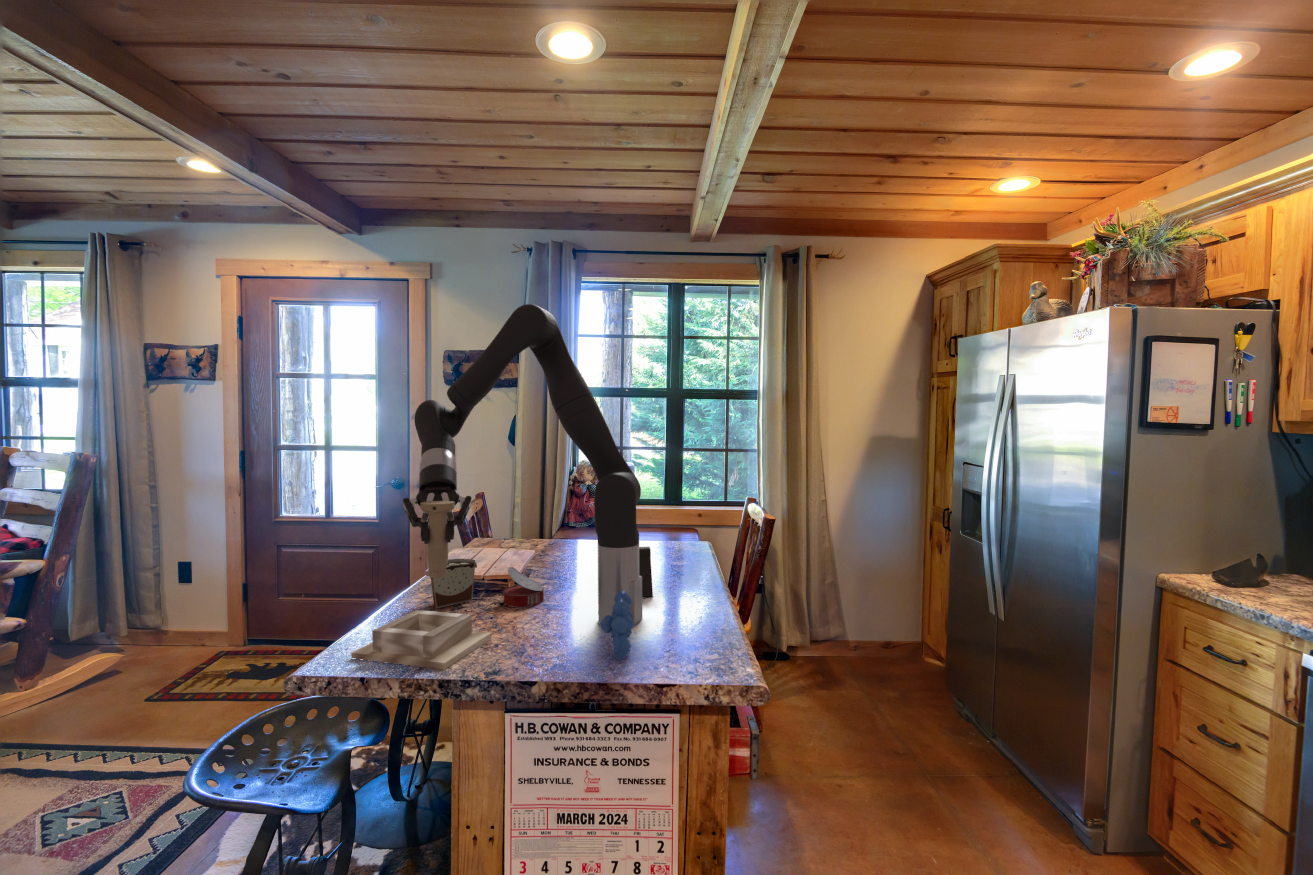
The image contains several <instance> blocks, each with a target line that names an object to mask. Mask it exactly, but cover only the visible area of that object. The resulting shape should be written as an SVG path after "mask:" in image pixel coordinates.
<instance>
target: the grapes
mask: <svg viewBox="0 0 1313 875" xmlns="http://www.w3.org/2000/svg"><path fill="white" fill-rule="evenodd" d="M614 600H615V604H614V606H613V607H612V608H613V611H612V615H611V616H610V615H607V616H605V617H604V619H603V620H602V621H601V623H599V626H600V628H601V629H602V631H603V632H604V633H605V634H610V638H611V639H612V640H611V642H610V643H611V645H612V646H613V649H612V650H611V651H612V652H613V654H614V656H615V658H616V659H617V660H619V661H623V660H624V659H625V658H627V656H628V655H629V654H630V652H631V648H632V645H631V643H630V641H629V637H630V636H631V635H632V633H633V632H632V631H633V630H632V629H633V628H634V627H635V626H636V625H635V623H634V622H633V620H632V619H631V617H632V613H631V612H630V610H629V609H630V607H629V606H630V604H631V603H632V601H631V598H630V596H629V595H628V593H627V592H626V591H624V590H621V591H619V592H618V594H617V595H616V596H615V598H614ZM634 625H635V626H634Z"/></svg>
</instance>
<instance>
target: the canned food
mask: <svg viewBox="0 0 1313 875" xmlns="http://www.w3.org/2000/svg"><path fill="white" fill-rule="evenodd" d="M507 572H508V573H507V574H508V576H510V578H511V579H512V580H513V582H515V583H516V584H517V585H516V584H515V585H512V586H508V587H506V588H504V589H503V604H504V605H505V604H506V605H505V606H507V605H508V607H512V606H513V607H515V608H523V607H526V608H527V607H532V606H537V605H539V604H542V603H543V602H545V601H544V600H545V599H544V598H545V597H544V596H545V595H544V594H545V593H544V592H545V590H544V586H542V585H541V583H538V582H537V581H535V580H533V579H532V578H530V577H529V576H526V575H525V574H523V573H522V572H521V571H519V570H518V569H517V568H515V567H514V566H508V568H507Z"/></svg>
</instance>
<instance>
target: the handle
mask: <svg viewBox="0 0 1313 875" xmlns="http://www.w3.org/2000/svg"><path fill="white" fill-rule="evenodd" d="M455 506H456V505H455V502H454V501H426V502H421V503H420V506H419V507H420V510H421V511H424V512H426V513H428V516H429V524H428V544H426V545H427V546H426V549H427V553H426V556H427V557H426V558H427V566H428V569H430V571H429V576H428V577H429V578H430V579H431V578H435V579H438V578H444V577H445V576H446V574H447V569H446V568H447V564H448V560H449V543H447V513H448V512H449V511H451V510H452V511H453V510H454V509H455Z"/></svg>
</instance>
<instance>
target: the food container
mask: <svg viewBox="0 0 1313 875" xmlns="http://www.w3.org/2000/svg"><path fill="white" fill-rule="evenodd" d="M477 568H478V565H477V562H476V560H475V559H472V558H451V559H450V558H448V564H447V568H446V569H447V574H446V576H445V577H444V578H438V579H435V578H430V581H431V582H430V583H431V591H432V600H433V607H434V608H435V609H439V608H444V607H448V606H452V605H453V606H454V605H457V604H462V603H466V602H470V601H471V602H472V601H473V596H474V582H475V571H476V569H477ZM427 569H428V570H427V576H428V577H430V576H429V571H430V569H429V568H427Z"/></svg>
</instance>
